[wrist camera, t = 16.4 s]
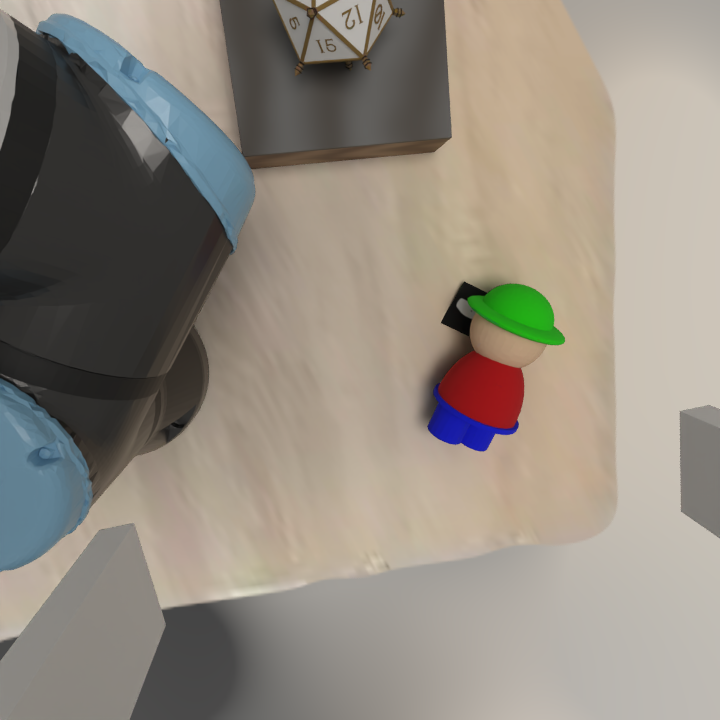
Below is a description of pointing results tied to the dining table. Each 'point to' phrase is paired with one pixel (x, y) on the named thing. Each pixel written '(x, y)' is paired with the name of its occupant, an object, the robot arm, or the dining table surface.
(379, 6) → the game die
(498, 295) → the toy figure
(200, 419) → the dining table surface
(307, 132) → the dark gray square base
